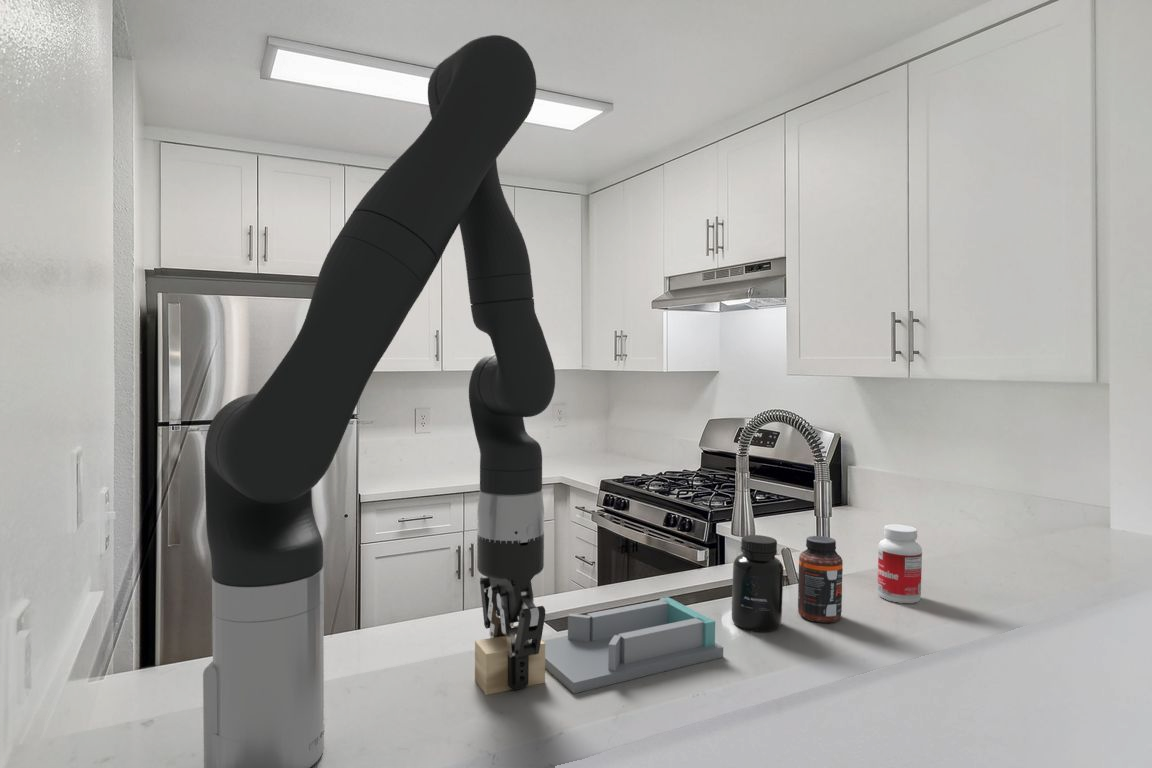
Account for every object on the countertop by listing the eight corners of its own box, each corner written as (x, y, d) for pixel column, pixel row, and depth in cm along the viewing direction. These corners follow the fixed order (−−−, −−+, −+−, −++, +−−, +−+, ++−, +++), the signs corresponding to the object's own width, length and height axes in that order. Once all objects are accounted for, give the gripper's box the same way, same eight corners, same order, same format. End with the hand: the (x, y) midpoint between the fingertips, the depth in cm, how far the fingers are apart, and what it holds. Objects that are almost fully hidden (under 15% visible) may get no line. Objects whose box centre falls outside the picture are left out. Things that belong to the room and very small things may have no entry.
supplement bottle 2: (844, 626, 97) (846, 545, 97) (800, 622, 98) (801, 542, 98) (837, 611, 103) (839, 535, 103) (795, 608, 104) (797, 532, 104)
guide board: (573, 693, 77) (573, 655, 77) (528, 652, 87) (528, 619, 87) (723, 656, 87) (723, 623, 87) (666, 624, 97) (666, 594, 97)
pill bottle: (869, 592, 112) (870, 523, 111) (903, 590, 113) (905, 522, 112) (893, 605, 106) (895, 533, 105) (929, 603, 107) (931, 531, 106)
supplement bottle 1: (747, 635, 94) (749, 546, 93) (722, 617, 100) (724, 534, 100) (792, 630, 96) (793, 543, 95) (765, 613, 102) (766, 531, 102)
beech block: (486, 694, 76) (486, 654, 76) (474, 679, 80) (475, 640, 80) (545, 682, 80) (545, 643, 79) (531, 668, 83) (531, 631, 83)
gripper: (458, 519, 84) (458, 661, 84) (503, 548, 71) (503, 714, 72) (516, 513, 87) (515, 649, 88) (569, 540, 75) (568, 698, 75)
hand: (510, 678), depth 80 cm, fingers closed on beech block, 4 cm apart
